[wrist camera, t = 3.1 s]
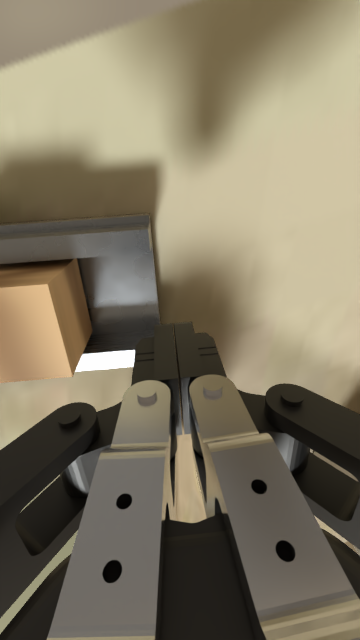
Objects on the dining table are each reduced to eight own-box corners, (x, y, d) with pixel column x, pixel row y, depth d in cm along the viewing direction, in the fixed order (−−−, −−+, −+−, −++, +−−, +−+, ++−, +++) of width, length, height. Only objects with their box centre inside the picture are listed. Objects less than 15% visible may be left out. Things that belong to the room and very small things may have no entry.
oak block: (76, 256, 17) (47, 284, 13) (92, 331, 20) (72, 376, 15) (-10, 263, 17) (-69, 293, 13) (16, 337, 20) (-27, 385, 15)
